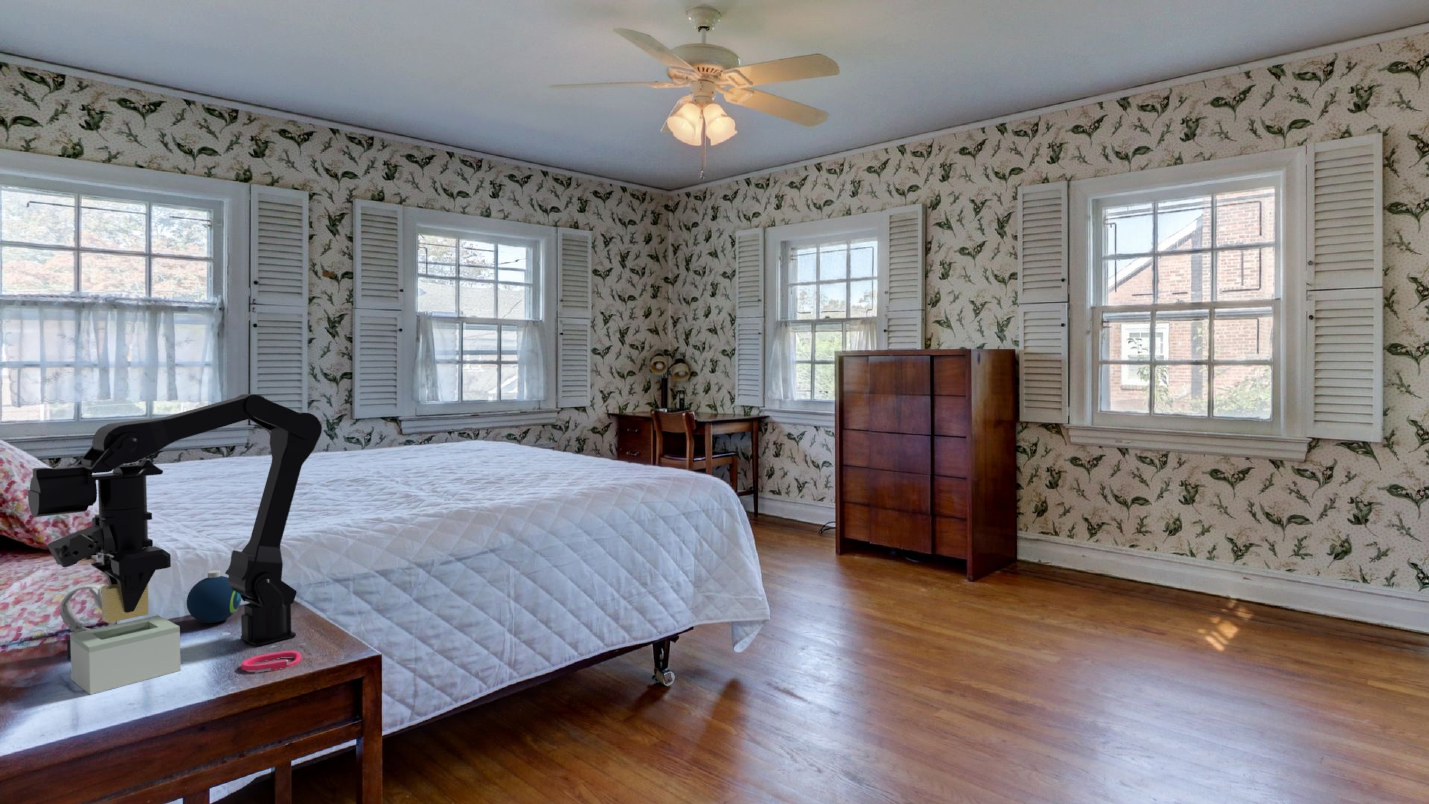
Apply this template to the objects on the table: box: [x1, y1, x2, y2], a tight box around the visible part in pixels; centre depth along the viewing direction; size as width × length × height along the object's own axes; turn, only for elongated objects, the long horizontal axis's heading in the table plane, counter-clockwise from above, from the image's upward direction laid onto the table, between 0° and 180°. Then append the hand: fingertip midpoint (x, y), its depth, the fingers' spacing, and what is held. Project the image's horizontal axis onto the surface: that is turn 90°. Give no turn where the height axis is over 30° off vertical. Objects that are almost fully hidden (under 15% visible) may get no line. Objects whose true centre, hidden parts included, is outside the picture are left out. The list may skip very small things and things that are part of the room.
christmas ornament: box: [186, 567, 242, 624], centre depth 139 cm, size 8×8×10 cm
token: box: [101, 584, 150, 624], centre depth 114 cm, size 5×2×5 cm, turn 144°
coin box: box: [69, 615, 182, 695], centre depth 114 cm, size 11×9×7 cm
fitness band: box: [241, 650, 302, 674], centre depth 118 cm, size 8×6×2 cm
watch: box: [59, 582, 118, 660], centre depth 123 cm, size 6×8×11 cm
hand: (126, 610), depth 114 cm, fingers closed on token, 2 cm apart
